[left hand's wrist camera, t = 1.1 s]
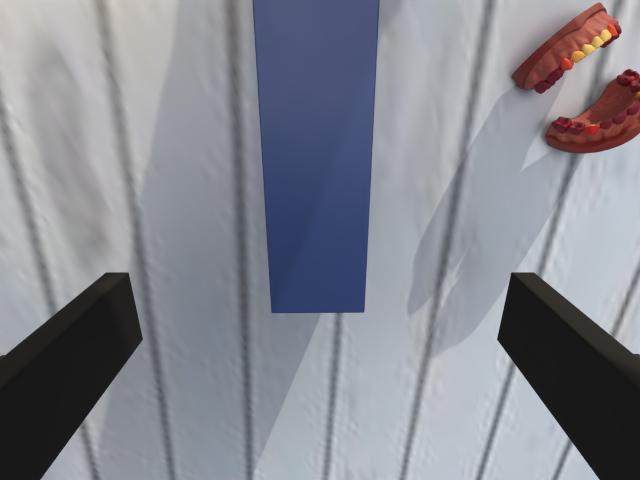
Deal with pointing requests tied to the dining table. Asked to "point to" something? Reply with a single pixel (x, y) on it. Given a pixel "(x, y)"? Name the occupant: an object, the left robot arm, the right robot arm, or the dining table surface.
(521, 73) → the dental model
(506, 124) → the dining table surface
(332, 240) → the bar
